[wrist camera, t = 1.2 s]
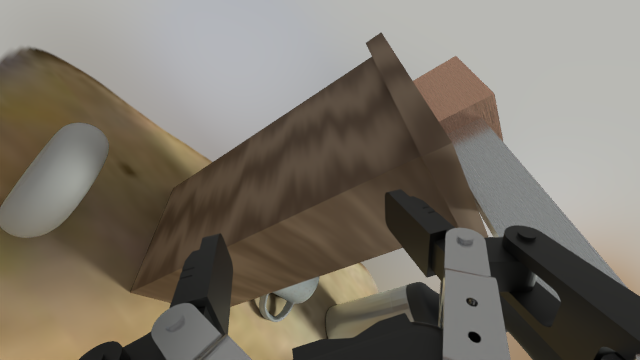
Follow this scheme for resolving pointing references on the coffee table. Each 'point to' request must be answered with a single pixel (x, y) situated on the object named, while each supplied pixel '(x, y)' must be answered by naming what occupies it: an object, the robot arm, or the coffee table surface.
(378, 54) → the walnut stand
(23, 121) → the coffee table surface
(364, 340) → the robot arm
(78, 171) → the donut
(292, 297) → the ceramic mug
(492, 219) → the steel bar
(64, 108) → the coffee table surface
